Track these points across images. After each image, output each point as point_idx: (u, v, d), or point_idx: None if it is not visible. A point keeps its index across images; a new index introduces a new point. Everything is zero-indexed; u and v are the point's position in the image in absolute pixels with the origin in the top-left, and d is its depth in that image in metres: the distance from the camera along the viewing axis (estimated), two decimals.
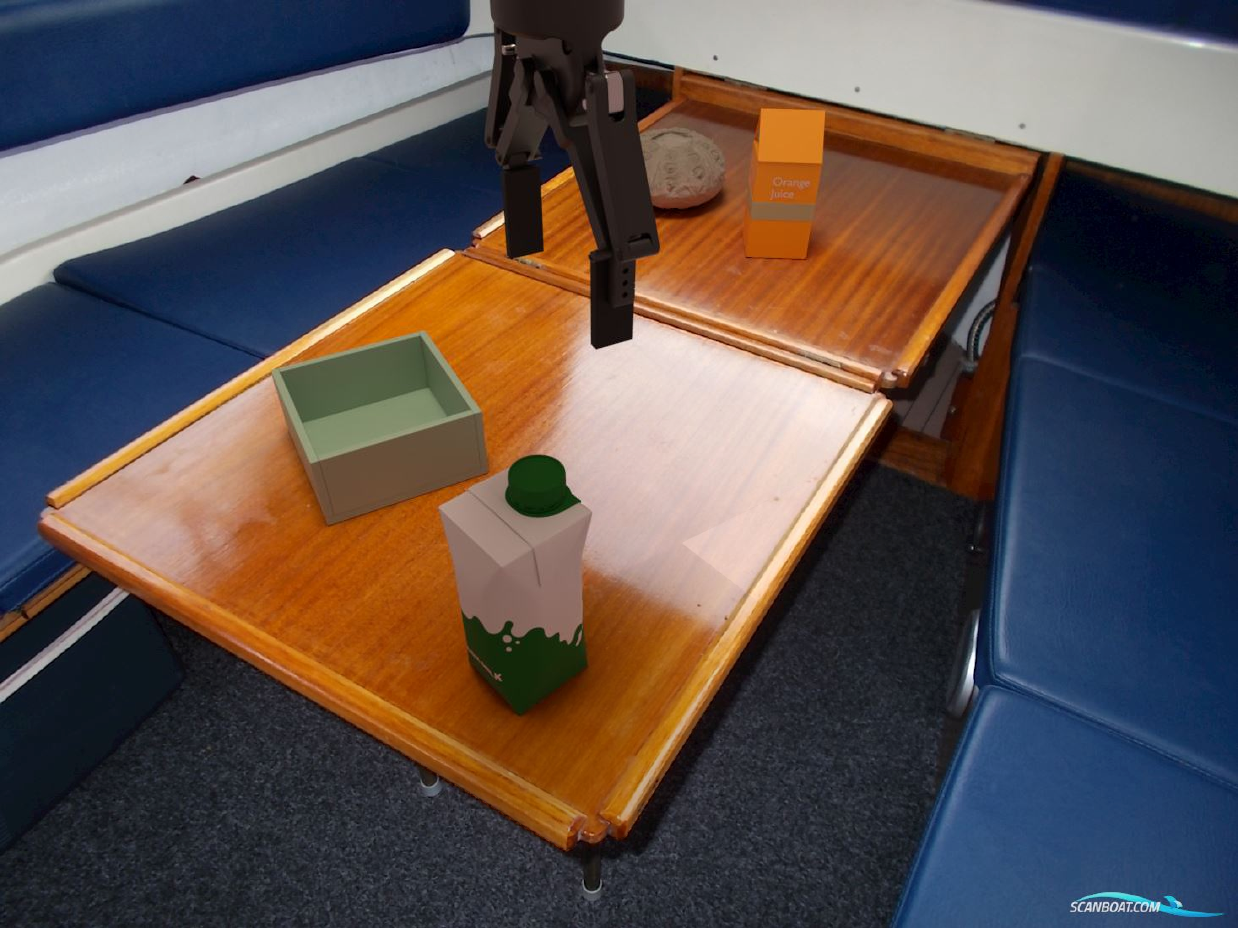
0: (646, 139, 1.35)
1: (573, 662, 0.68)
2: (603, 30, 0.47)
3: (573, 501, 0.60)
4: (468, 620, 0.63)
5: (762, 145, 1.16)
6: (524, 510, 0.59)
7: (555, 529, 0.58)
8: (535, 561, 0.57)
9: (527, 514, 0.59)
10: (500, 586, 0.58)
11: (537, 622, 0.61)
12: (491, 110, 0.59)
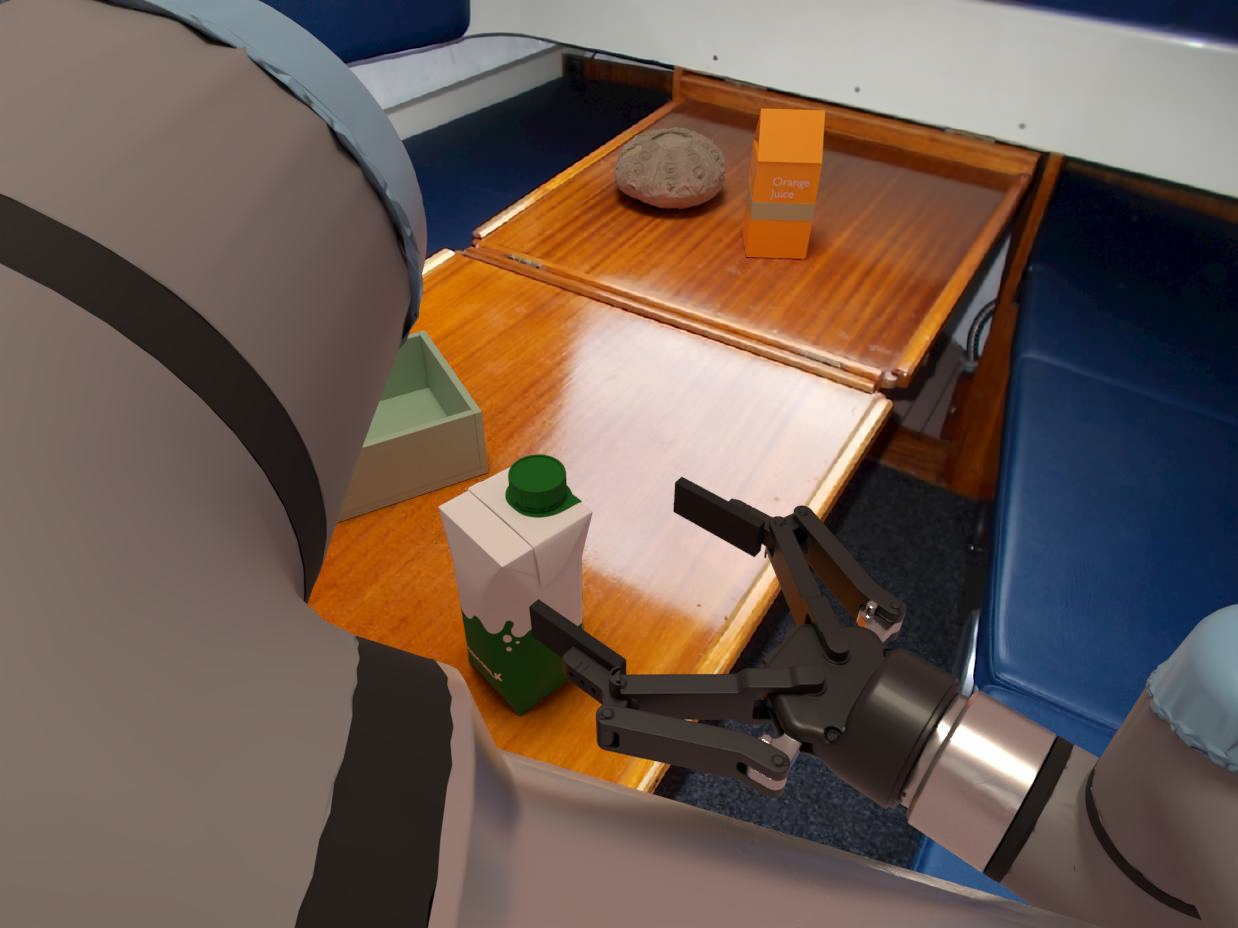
0: (646, 139, 1.35)
1: None
2: (833, 770, 0.43)
3: (573, 501, 0.60)
4: (468, 620, 0.63)
5: (762, 145, 1.16)
6: (524, 510, 0.59)
7: (555, 529, 0.58)
8: (536, 561, 0.57)
9: (527, 514, 0.59)
10: (500, 586, 0.58)
11: None
12: (827, 538, 0.53)
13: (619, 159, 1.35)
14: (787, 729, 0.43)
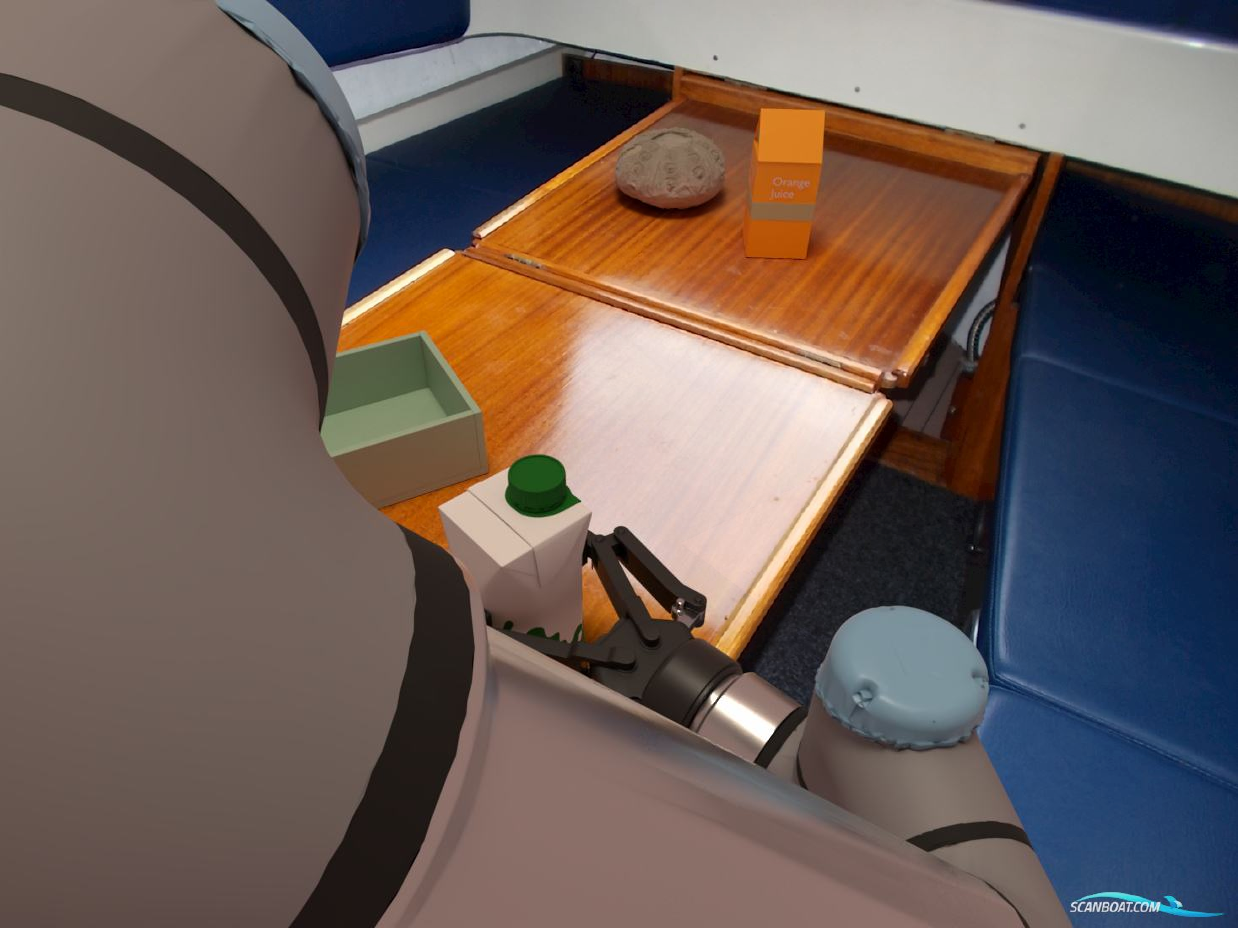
0: (646, 139, 1.35)
1: None
2: None
3: (573, 501, 0.60)
4: None
5: (762, 145, 1.16)
6: (524, 510, 0.59)
7: (555, 529, 0.58)
8: (535, 561, 0.57)
9: (527, 514, 0.59)
10: (499, 586, 0.58)
11: (537, 622, 0.61)
12: (642, 551, 0.64)
13: (619, 159, 1.35)
14: None
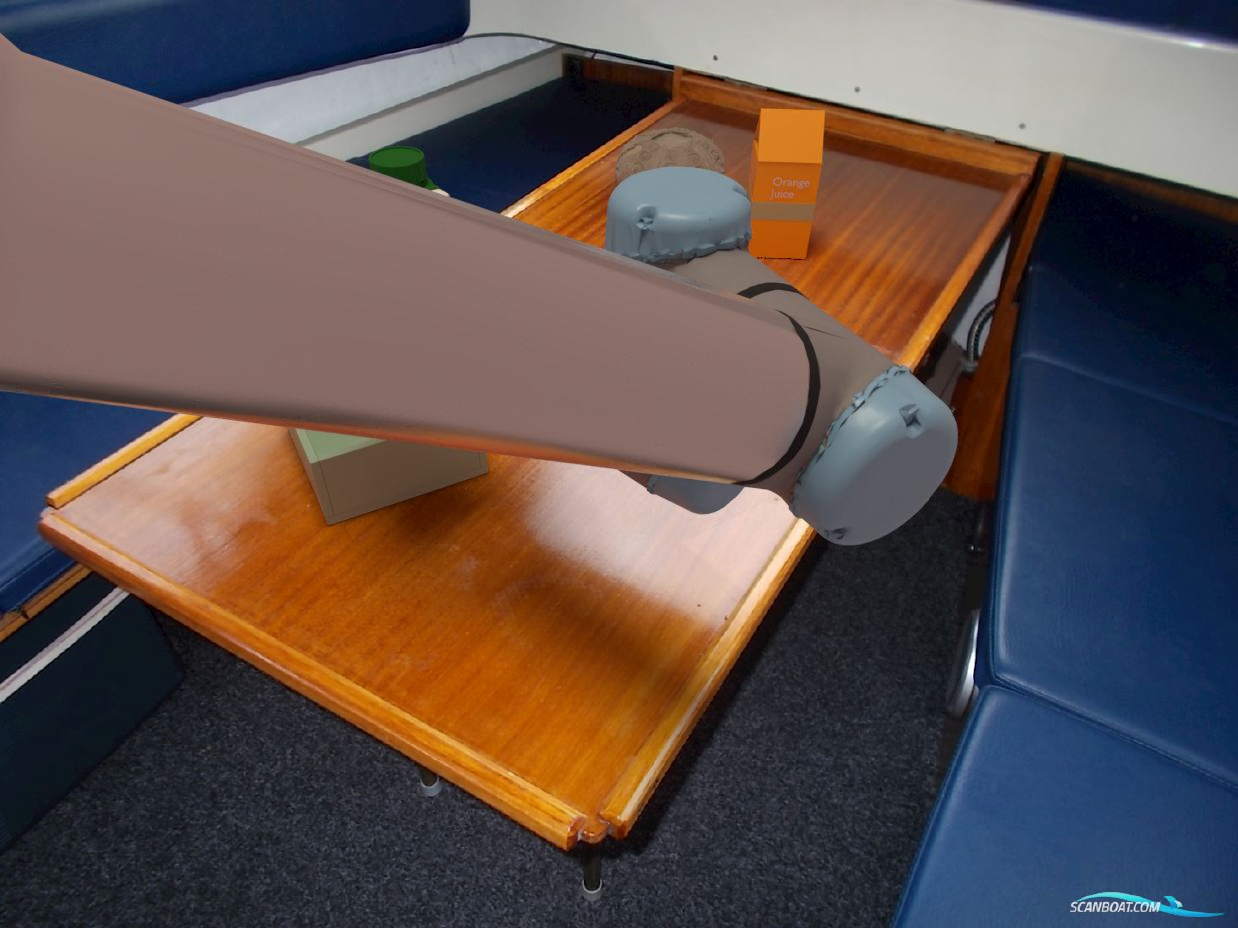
0: (646, 139, 1.35)
1: None
2: None
3: (432, 187, 0.63)
4: None
5: (762, 145, 1.16)
6: None
7: None
8: None
9: None
10: None
11: None
12: None
13: (619, 159, 1.35)
14: None
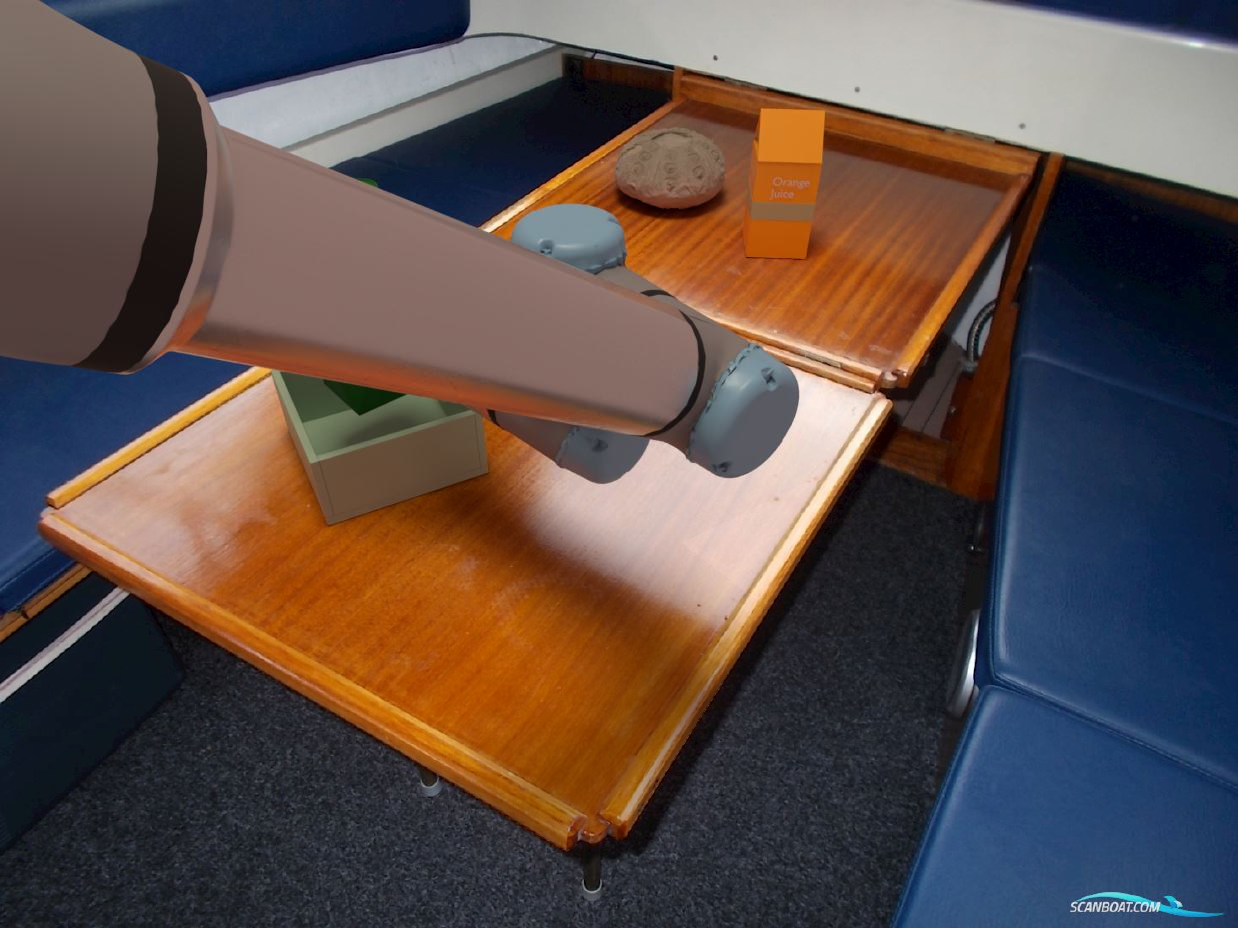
0: (646, 139, 1.35)
1: None
2: None
3: None
4: None
5: (762, 145, 1.16)
6: None
7: None
8: None
9: None
10: None
11: None
12: None
13: (619, 159, 1.35)
14: None
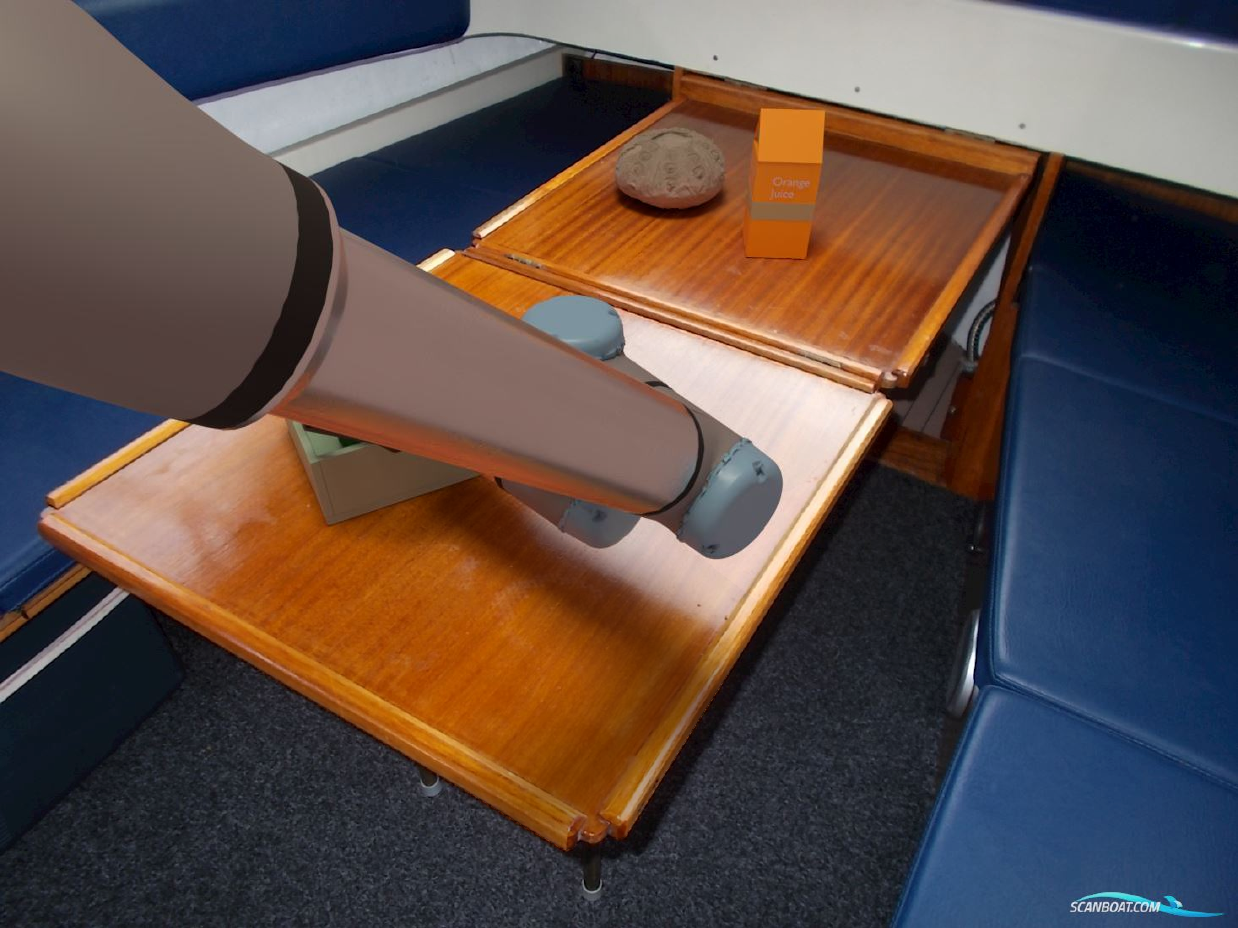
0: (646, 139, 1.35)
1: None
2: None
3: None
4: None
5: (762, 145, 1.16)
6: None
7: None
8: None
9: None
10: None
11: None
12: None
13: (619, 159, 1.35)
14: None
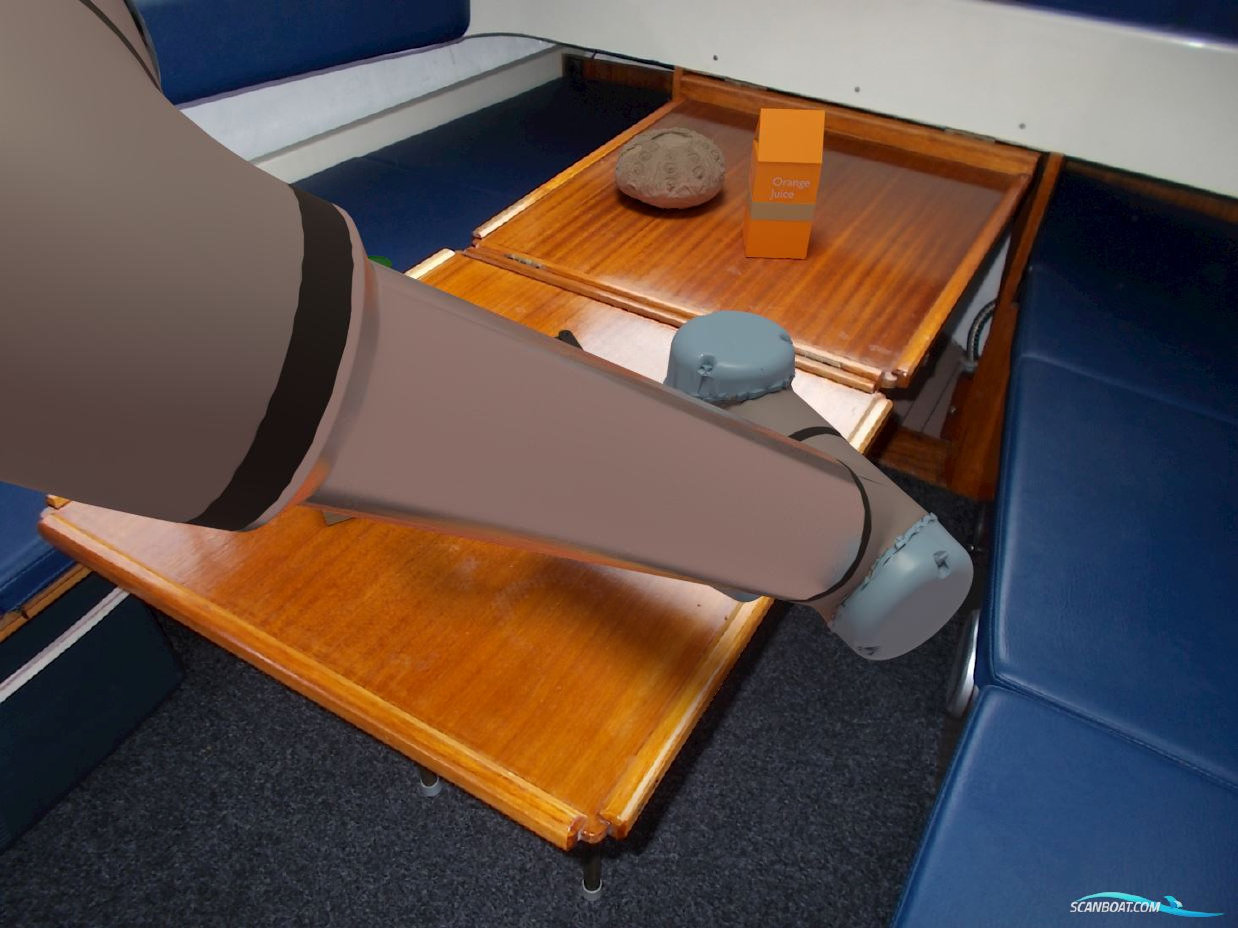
0: (646, 139, 1.35)
1: None
2: None
3: None
4: None
5: (762, 145, 1.16)
6: None
7: None
8: None
9: None
10: None
11: None
12: None
13: (619, 159, 1.35)
14: None
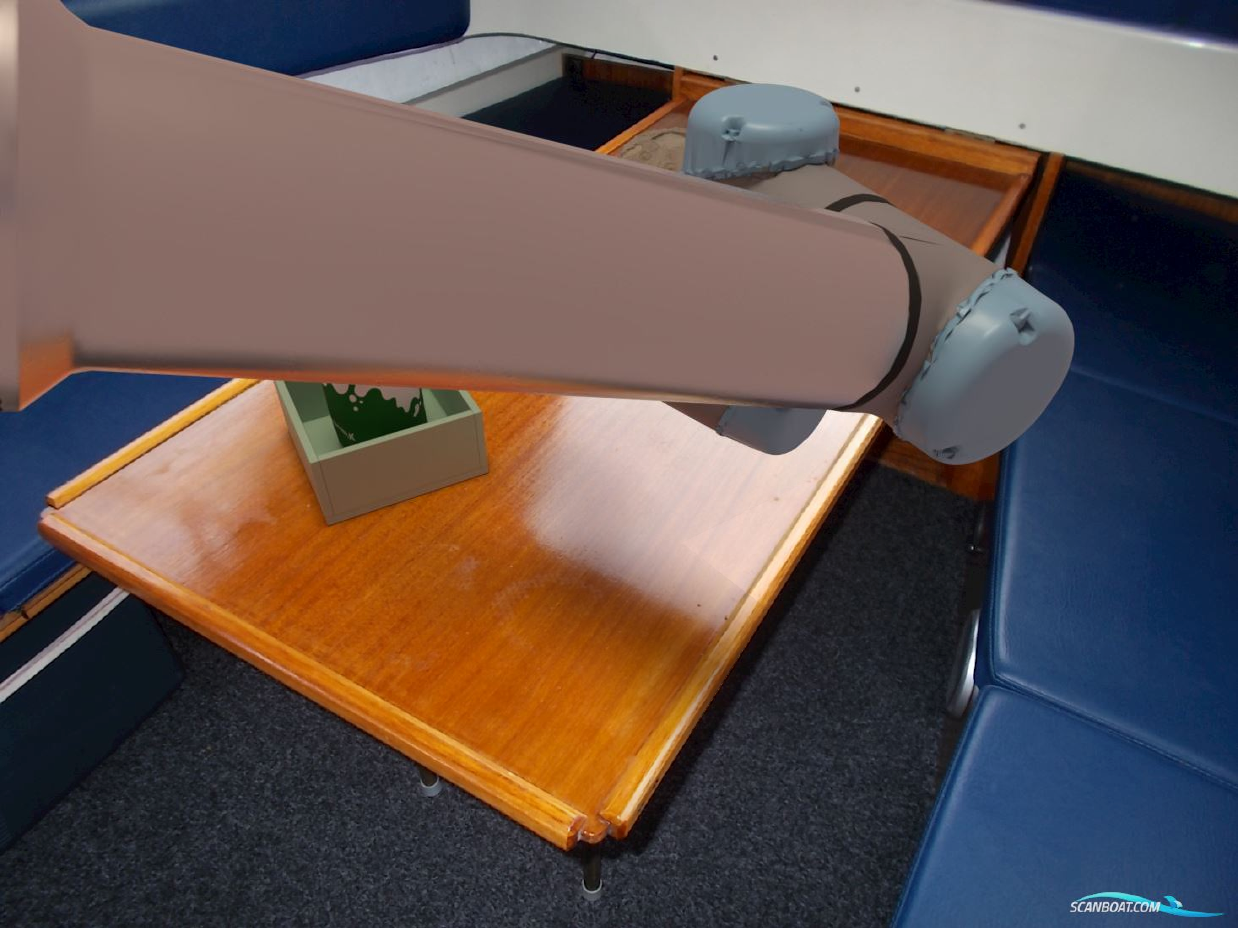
0: (646, 139, 1.35)
1: None
2: None
3: None
4: (325, 388, 0.83)
5: None
6: None
7: None
8: None
9: None
10: None
11: None
12: None
13: None
14: None
